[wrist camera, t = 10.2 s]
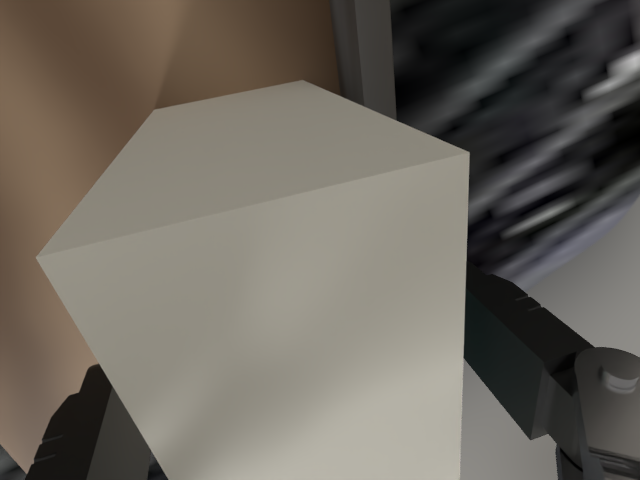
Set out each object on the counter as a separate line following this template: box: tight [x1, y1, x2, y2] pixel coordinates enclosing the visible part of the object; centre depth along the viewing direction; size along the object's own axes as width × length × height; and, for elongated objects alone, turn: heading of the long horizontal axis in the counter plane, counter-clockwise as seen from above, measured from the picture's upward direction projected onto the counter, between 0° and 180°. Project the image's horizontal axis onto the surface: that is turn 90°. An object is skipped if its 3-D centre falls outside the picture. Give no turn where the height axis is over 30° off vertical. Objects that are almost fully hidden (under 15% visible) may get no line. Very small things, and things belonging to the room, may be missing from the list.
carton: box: [36, 80, 470, 480], centre depth 11 cm, size 5×10×10 cm, turn 9°
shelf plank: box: [0, 0, 397, 474], centre depth 14 cm, size 18×19×4 cm
